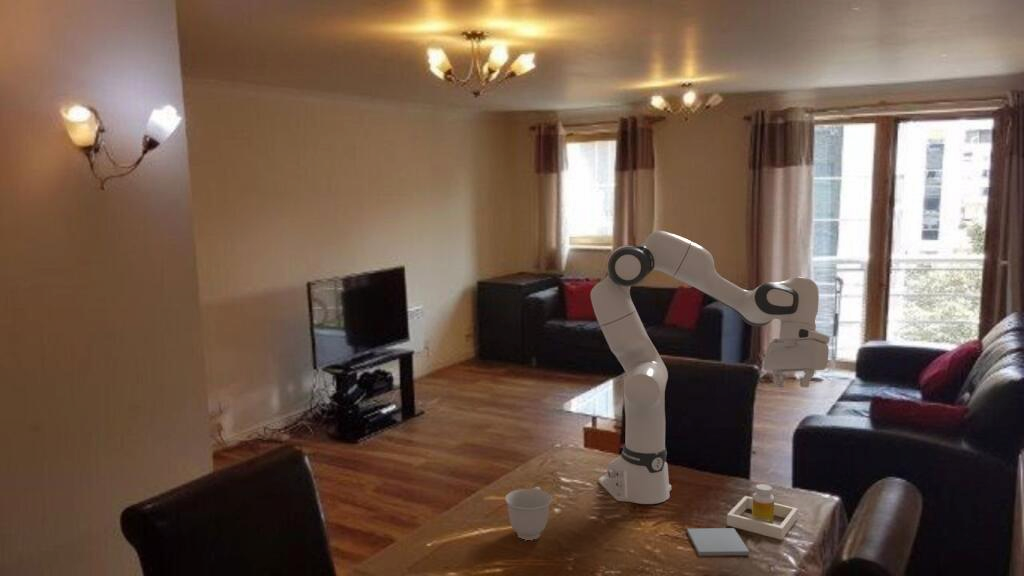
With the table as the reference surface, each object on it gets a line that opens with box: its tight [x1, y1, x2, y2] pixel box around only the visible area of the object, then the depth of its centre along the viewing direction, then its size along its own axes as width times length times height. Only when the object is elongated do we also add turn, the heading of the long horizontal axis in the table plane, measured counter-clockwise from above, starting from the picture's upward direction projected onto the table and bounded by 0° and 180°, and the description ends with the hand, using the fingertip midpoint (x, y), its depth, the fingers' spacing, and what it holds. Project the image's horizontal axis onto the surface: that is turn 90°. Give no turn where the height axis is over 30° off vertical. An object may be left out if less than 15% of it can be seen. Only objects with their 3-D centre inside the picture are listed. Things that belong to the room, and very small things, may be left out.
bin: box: [726, 495, 799, 541], centre depth 195 cm, size 14×14×3 cm
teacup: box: [504, 486, 553, 541], centre depth 189 cm, size 12×15×10 cm
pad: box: [686, 527, 750, 557], centre depth 184 cm, size 12×12×1 cm
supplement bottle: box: [751, 483, 775, 524], centre depth 195 cm, size 5×5×10 cm
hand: (791, 387), depth 197 cm, fingers open, 8 cm apart
